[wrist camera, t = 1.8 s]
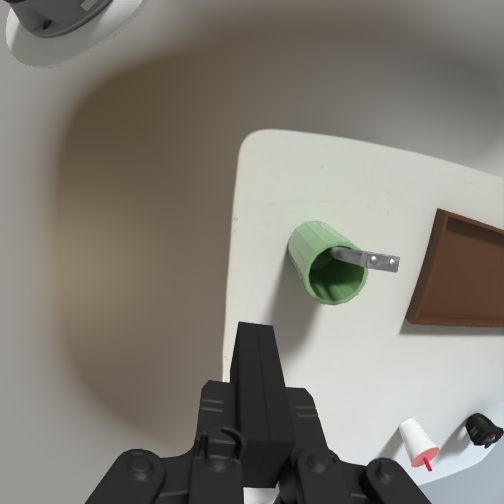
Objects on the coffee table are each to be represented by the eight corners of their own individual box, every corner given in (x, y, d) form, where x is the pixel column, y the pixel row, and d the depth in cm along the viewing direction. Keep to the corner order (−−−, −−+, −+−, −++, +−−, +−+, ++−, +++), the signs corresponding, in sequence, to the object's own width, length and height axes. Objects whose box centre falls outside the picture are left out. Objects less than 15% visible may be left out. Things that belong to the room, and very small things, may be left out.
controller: (468, 408, 46) (490, 437, 37) (491, 411, 48) (511, 436, 39) (455, 423, 47) (476, 453, 38) (480, 425, 49) (499, 450, 40)
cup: (388, 433, 45) (411, 481, 34) (404, 413, 44) (431, 461, 33) (408, 433, 46) (432, 477, 35) (424, 414, 45) (451, 458, 33)
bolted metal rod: (303, 250, 34) (366, 268, 18) (305, 241, 34) (369, 251, 18) (324, 253, 34) (398, 273, 18) (325, 245, 34) (401, 257, 18)
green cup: (277, 240, 34) (291, 267, 26) (321, 210, 34) (348, 227, 25) (305, 280, 36) (325, 316, 27) (346, 251, 35) (378, 280, 26)
